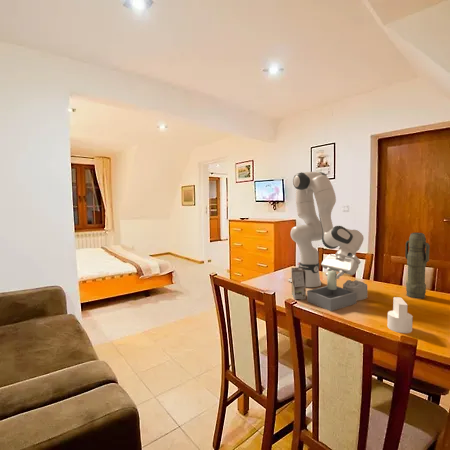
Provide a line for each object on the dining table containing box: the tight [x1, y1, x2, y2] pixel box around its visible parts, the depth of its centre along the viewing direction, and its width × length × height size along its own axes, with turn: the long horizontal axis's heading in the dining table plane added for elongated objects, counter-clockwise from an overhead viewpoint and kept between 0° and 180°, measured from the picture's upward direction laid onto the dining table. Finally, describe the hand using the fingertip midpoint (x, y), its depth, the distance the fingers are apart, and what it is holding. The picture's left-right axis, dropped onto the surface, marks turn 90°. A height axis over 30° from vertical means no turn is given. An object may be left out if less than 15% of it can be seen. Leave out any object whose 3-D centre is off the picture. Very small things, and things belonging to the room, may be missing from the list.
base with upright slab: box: [386, 296, 414, 334], centre depth 122 cm, size 9×9×12 cm
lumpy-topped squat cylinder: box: [342, 279, 368, 301], centre depth 161 cm, size 10×13×9 cm
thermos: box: [404, 232, 431, 300], centre depth 157 cm, size 9×12×35 cm
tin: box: [326, 270, 338, 290], centre depth 152 cm, size 5×5×9 cm
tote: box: [306, 285, 357, 312], centre depth 154 cm, size 16×19×6 cm
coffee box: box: [290, 266, 307, 300], centre depth 163 cm, size 9×6×16 cm
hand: (331, 276), depth 152 cm, fingers closed on tin, 5 cm apart
